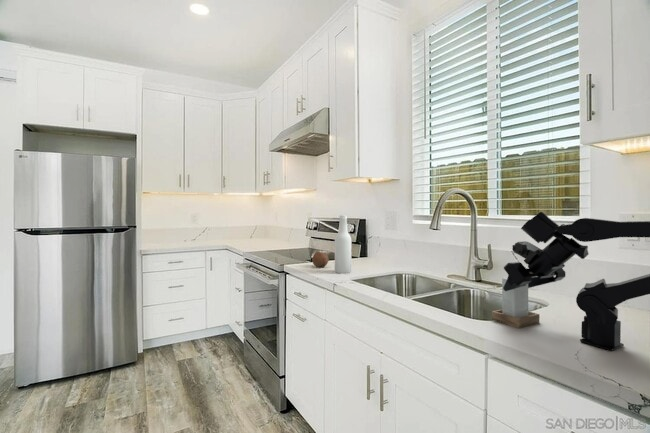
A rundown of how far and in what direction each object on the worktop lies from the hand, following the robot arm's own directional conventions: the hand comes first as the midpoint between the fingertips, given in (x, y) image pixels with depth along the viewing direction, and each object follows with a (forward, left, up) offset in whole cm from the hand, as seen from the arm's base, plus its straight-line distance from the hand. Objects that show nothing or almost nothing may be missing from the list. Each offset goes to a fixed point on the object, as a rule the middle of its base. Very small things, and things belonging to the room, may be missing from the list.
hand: (515, 288), depth 98 cm
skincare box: (0, 0, -9) cm, 9 cm away
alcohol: (+90, +4, -10) cm, 91 cm away
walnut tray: (0, 0, -10) cm, 10 cm away
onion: (+110, +7, -10) cm, 111 cm away
